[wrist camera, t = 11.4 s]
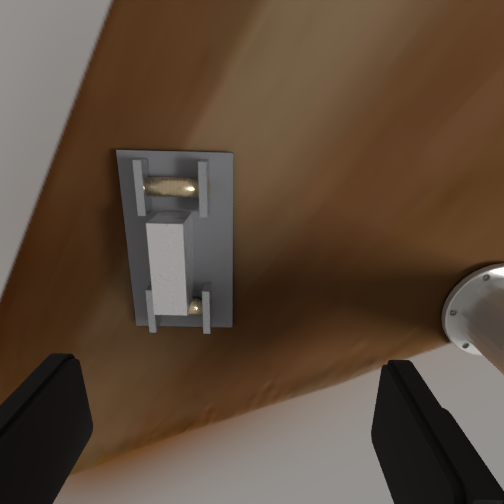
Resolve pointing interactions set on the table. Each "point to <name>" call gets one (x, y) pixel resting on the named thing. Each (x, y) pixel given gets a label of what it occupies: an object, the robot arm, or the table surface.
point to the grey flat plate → (204, 229)
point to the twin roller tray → (200, 189)
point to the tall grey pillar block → (171, 262)
